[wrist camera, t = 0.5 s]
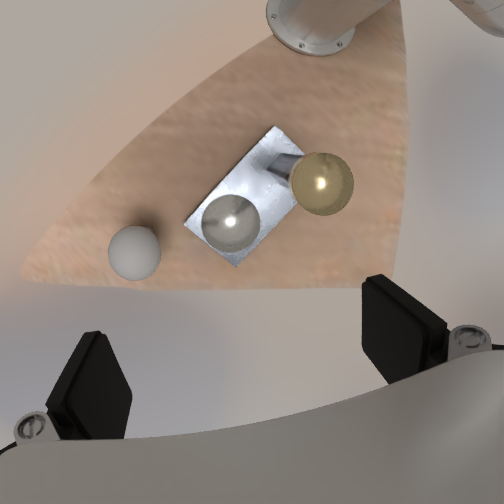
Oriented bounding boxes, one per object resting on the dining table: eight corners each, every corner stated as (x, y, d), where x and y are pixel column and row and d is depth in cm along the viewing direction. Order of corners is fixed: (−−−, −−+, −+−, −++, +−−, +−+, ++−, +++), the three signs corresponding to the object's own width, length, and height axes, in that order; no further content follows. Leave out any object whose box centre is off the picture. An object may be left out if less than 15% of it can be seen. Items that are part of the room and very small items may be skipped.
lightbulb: (117, 231, 41) (90, 258, 30) (149, 202, 40) (129, 221, 30) (146, 263, 43) (128, 300, 32) (178, 237, 42) (168, 267, 32)
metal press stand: (273, 126, 39) (297, 118, 27) (320, 173, 41) (358, 184, 30) (184, 221, 41) (174, 250, 30) (235, 263, 44) (243, 304, 33)
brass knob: (302, 140, 29) (325, 140, 23) (336, 176, 31) (364, 184, 25) (266, 177, 30) (281, 185, 24) (302, 211, 31) (324, 228, 25)
